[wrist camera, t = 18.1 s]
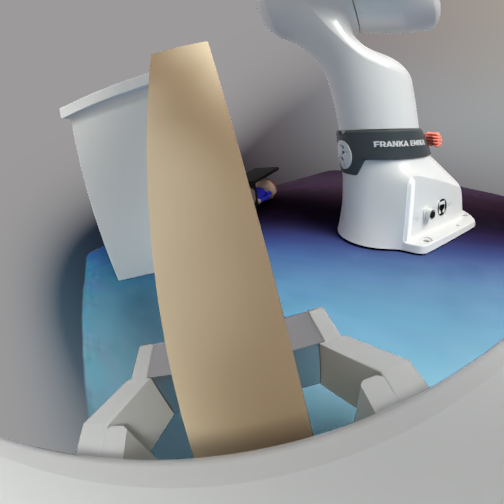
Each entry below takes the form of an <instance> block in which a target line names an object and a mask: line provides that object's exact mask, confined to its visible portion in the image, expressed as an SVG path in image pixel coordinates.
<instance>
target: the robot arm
mask: <svg viewBox="0 0 504 504" xmlns="http://www.w3.org/2000/svg"><path fill="white" fill-rule="evenodd" d="M257 9H258V13H259V16H260V18H261V20H262V22H263V23H264V25H265V26H266V27H267V28H268V29H269V30H270V31H271V32H273V33H274V34H275V35H277V36H279V37H281V38H283V39H285V40H288V41H291V42H293V43H295V44H297V45H298V46H300V47H302V48H303V49H304V50H306V51H307V52H308V53H310V55H311V56H312V57H313V58H314V59H315V60H316V61H317V63H318V64H319V65H320V67H321V68H322V70H323V72H324V74H325V76H326V78H327V81H328V83H329V87H330V90H331V93H332V97H333V101H334V106H335V110H336V115H337V121H338V127H339V130H338V131H337V132H336V135H337V143H338V144H337V145H338V156H339V161H340V166H341V170H342V172H343V198H342V208H341V215H340V220H339V225H338V233H339V234H340V235H341V236H342V237H343V238H344V239H346V240H348V241H350V242H352V243H355V244H358V245H362V246H366V247H372V248H380V249H398V250H404V251H408V252H412V253H418V254H426V253H428V252H430V251H432V250H434V249H436V248H438V247H440V246H441V245H443V244H445V243H447V242H449V241H450V240H452V239H454V238H456V237H458V236H459V235H461V234H463V233H464V232H466V231H468V230H470V229H471V228H473V227H474V226H475V220H474V219H473V217H472V216H470V215H469V214H468V213H466V212H465V211H463V210H462V194H461V189H460V186H459V185H458V183H457V182H456V181H455V180H454V179H453V178H452V177H451V176H450V175H449V174H448V173H447V172H446V171H445V170H444V169H443V168H442V167H441V166H440V165H439V164H438V163H437V162H436V161H435V160H434V159H433V158H432V157H431V156H430V154H431V152H430V149H429V146H432V145H433V146H435V147H440V146H441V145H439V143H442V142H439V141H440V140H442V139H439V138H440V137H442V136H439V135H440V133H438V132H433V133H432V132H427V133H426V134H423V131H422V130H421V129H420V128H419V125H418V116H417V109H416V102H415V95H414V89H413V84H412V79H411V77H410V75H409V73H408V71H407V70H406V69H405V68H404V67H403V66H402V65H401V64H400V63H399V62H397V61H396V60H394V59H392V58H391V57H388V56H386V55H384V54H381V53H378V52H376V51H373V50H371V49H369V48H367V47H365V46H364V45H363V44H362V43H360V42H359V41H358V40H357V38H356V37H355V36H356V35H359V34H370V33H410V32H418V31H424V30H431V29H433V28H434V27H435V25H436V24H437V22H438V20H439V18H440V12H441V6H440V1H439V0H257ZM428 145H429V146H428ZM284 319H285V323H286V327H287V331H288V335H289V339H290V343H291V347H292V351H293V355H294V359H295V363H296V367H297V371H298V375H299V379H300V383H301V387H302V388H304V387H308V386H312V385H316V384H319V383H321V385H323V386H324V387H326V388H327V389H329V390H330V391H332V392H333V393H335V394H336V395H338V396H339V397H341V398H342V399H344V400H345V401H347V402H348V403H350V404H351V405H353V406H354V407H356V408H357V409H356V414H355V419H354V423H351V424H348V425H345V426H343V427H340V428H337V429H334V430H331V431H328V432H325V433H321V434H318V435H315V436H311V437H308V438H304V439H301V440H297V441H293V442H289V443H285V444H281V445H277V446H272V447H267V448H263V449H257V450H252V451H247V452H241V453H234V454H227V455H220V456H211V457H201V458H189V459H170V460H158V459H157V458H156V457H155V456H154V455H152V454H151V453H150V451H151V450H152V448H153V447H154V445H155V444H156V442H157V440H158V439H159V437H160V436H161V434H162V433H163V431H164V430H165V428H166V426H167V425H168V423H169V422H170V420H171V419H172V417H173V415H174V413H176V412H181V411H180V407H179V404H178V400H177V396H176V391H175V387H174V383H173V378H172V374H171V369H170V365H169V360H168V355H167V350H166V345H165V342H160V343H155V344H147V345H141V346H140V347H139V350H138V354H137V358H136V362H135V366H134V370H133V374H132V378H131V380H127V381H126V382H125V383H124V384H123V385H122V386H121V387H120V388H119V389H118V390H117V391H116V392H115V393H114V394H113V395H112V396H111V397H110V398H109V399H108V400H107V401H106V402H105V403H104V404H103V405H102V406H101V407H100V408H99V409H98V410H97V411H96V412H95V413H94V414H93V415H92V416H91V417H90V418H89V419H88V420H87V421H86V422H85V423H84V424H83V428H82V431H81V435H80V439H79V443H78V447H77V451H76V454H70V453H64V452H59V451H53V450H48V449H44V448H39V447H35V446H31V445H27V444H24V443H20V442H16V441H13V440H10V439H6V438H3V437H0V504H504V338H503V339H502V340H501V341H499V342H498V343H497V344H496V345H494V346H493V347H492V348H490V349H489V350H488V351H486V352H485V353H483V354H482V355H481V356H479V357H478V358H476V359H475V360H473V361H472V362H471V363H469V364H468V365H466V366H465V367H463V368H461V369H460V370H458V371H457V372H455V373H454V374H452V375H450V376H449V377H447V378H445V379H444V380H442V381H440V382H439V383H437V384H435V385H433V386H432V387H429V386H428V385H427V383H426V382H425V381H424V379H423V378H422V377H421V375H420V374H419V373H418V371H417V370H416V369H415V367H414V366H413V365H412V364H411V362H410V361H409V360H407V359H405V358H402V357H399V356H397V355H394V354H392V353H389V352H386V351H384V350H381V349H379V348H376V347H374V346H371V345H369V344H366V343H364V342H361V341H359V340H356V339H354V338H351V337H349V336H346V335H345V336H341V335H340V333H339V331H338V330H337V328H336V327H335V325H334V324H333V322H332V320H331V319H330V317H329V316H328V314H327V313H326V311H325V309H324V308H323V307H319V308H315V309H312V310H309V311H307V312H303V313H300V314H296V315H292V316H288V317H284Z"/></svg>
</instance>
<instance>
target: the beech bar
mask: <svg viewBox="0 0 504 504" xmlns="http://www.w3.org/2000/svg"><path fill="white" fill-rule="evenodd" d="M147 187H148V207H149V222H150V235H151V246H152V256H153V265H154V274H155V282H156V289H157V297H158V303H159V310H160V316H161V322H162V328H163V334H164V339H165V345H166V350H167V355H168V360H169V365H170V369H171V374H172V378H173V383H174V387H175V391H176V396H177V400H178V404H179V407H180V411H181V415H182V419H183V422H184V426H185V430H186V433H187V437H188V440H189V443H190V447H191V450H192V453H193V456H194V458H201V457H211V456H220V455H227V454H234V453H241V452H247V451H252V450H257V449H263V448H267V447H272V446H277V445H281V444H285V443H289V442H293V441H297V440H301V439H304V438H308V437H311V436H313V433H312V429H311V425H310V420H309V416H308V412H307V408H306V404H305V400H304V395H303V391H302V387H301V383H300V379H299V375H298V371H297V367H296V363H295V359H294V355H293V351H292V347H291V343H290V339H289V335H288V331H287V327H286V323H285V319H284V315H283V311H282V307H281V303H280V299H279V295H278V291H277V288H276V284H275V280H274V276H273V272H272V268H271V265H270V261H269V257H268V253H267V249H266V246H265V242H264V238H263V234H262V231H261V227H260V223H259V220H258V216H257V212H256V208H255V205H254V201H253V197H252V194H251V190H250V186H249V183H248V179H247V176H246V172H245V168H244V165H243V161H242V158H241V154H240V150H239V147H238V143H237V140H236V137H235V133H234V129H233V126H232V122H231V119H230V115H229V112H228V108H227V105H226V102H225V98H224V94H223V91H222V88H221V84H220V81H219V78H218V74H217V71H216V67H215V64H214V60H213V57H212V54H211V50H210V47H209V44H208V41H206V42H201V43H195V44H191V45H186V46H182V47H178V48H174V49H170V50H166V51H162V52H159V53H155V54H152V55H151V62H150V73H149V87H148V106H147Z"/></svg>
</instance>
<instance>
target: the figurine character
mask: <svg viewBox="0 0 504 504" xmlns="http://www.w3.org/2000/svg"><path fill="white" fill-rule="evenodd" d="M278 169H279V168H278V167H270V168H255V169H253V170H251V171H249V172H247V173H246V176H247V179H248V183H249V186H250V190H251V194H252V197H253V201H254V205H255V207H256V206H258V205H259V204H260V203H261V202H263V201H265V200H270V199H272V198H273V197H274V196H275V194H276V192H277V187H276V185H275V183H274V182H273V181H272V180H270V179H267V178H265V177H267V176H269V175H270V174H272V173H274V172H276V171H277V170H278ZM256 209H257V208H256Z"/></svg>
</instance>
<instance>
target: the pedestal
mask: <svg viewBox="0 0 504 504" xmlns="http://www.w3.org/2000/svg"><path fill="white" fill-rule="evenodd" d="M148 87H149V73H146V74H144V75H140V76H137V77H134V78H131V79H128V80H125V81H123V82H120V83H117V84H114V85H112V86H109V87H107V88H104V89H102V90H99V91H97V92H94V93H92V94H90V95H87V96H85V97H83V98H81V99H79V100H77V101H74V102H72V103H70V104H68V105H66V106H64V107H62V108H60V114H61V119H71V122H72V128H73V133H74V138H75V143H76V148H77V152H78V157H79V161H80V165H81V169H82V173H83V177H84V181H85V185H86V188H87V192H88V195H89V198H90V202H91V205H92V209H93V212H94V215H95V218H96V221H97V224H98V227H99V230H100V233H101V236H102V239H103V242H104V245H105V247H106V250H107V253H108V255H109V258H110V261H111V263H112V266H113V268H114V271H115V273H116V276H117V278H118V281H121V280H125V279H129V278H134V277H138V276H142V275H147V274H151V273H154V265H153V256H152V246H151V235H150V222H149V207H148V187H147V106H148Z"/></svg>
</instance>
